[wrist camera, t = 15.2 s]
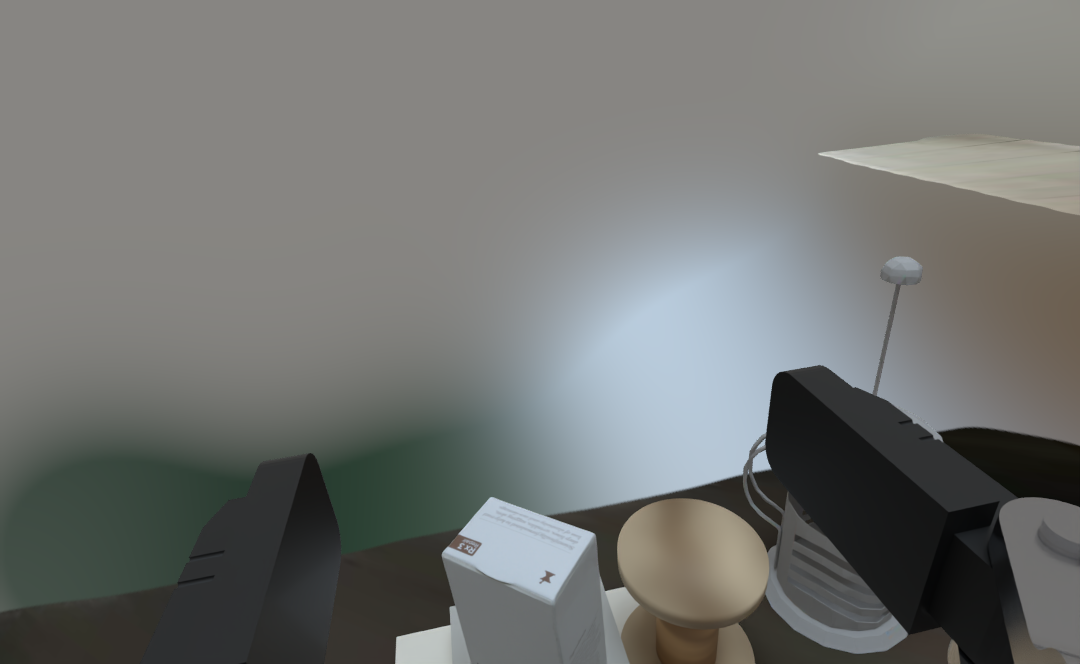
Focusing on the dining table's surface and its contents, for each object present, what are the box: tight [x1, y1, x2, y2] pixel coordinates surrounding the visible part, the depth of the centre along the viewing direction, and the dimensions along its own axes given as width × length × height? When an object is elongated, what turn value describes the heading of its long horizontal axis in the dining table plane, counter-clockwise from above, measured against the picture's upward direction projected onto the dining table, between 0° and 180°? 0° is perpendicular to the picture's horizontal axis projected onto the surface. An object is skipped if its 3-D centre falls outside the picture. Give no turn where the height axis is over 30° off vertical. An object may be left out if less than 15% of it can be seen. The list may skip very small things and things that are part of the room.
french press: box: [743, 257, 943, 654], centre depth 36 cm, size 10×12×25 cm
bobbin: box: [617, 498, 769, 664], centre depth 33 cm, size 8×8×10 cm
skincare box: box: [442, 497, 607, 664], centre depth 28 cm, size 6×4×12 cm
